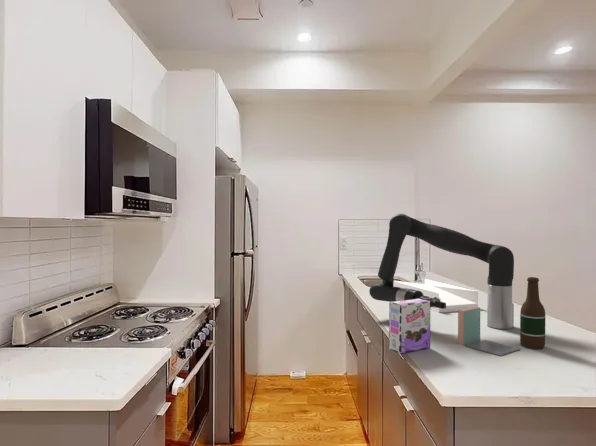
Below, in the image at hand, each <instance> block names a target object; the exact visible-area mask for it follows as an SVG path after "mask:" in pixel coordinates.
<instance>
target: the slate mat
mask: <svg viewBox="0 0 596 446" xmlns="http://www.w3.org/2000/svg"><path fill="white" fill-rule="evenodd" d="M464 347H466V348H470V349H473V350H475V351H476V350H477V351H480V352H484V353H488V354H490V355H494V356H498V357H502V356H506V355H508V354H512V353H515V352H518V351H521V348H519V347H516V346H511V345H509V344H504V343H499V342H496V341H492V340H489V339H480V341H476V342H472V343H469V344H465V345H464Z"/></svg>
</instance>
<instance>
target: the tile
mask: <svg viewBox="0 0 596 446" xmlns="http://www.w3.org/2000/svg"><path fill="white" fill-rule="evenodd" d="M478 341H481V307H479V306H478V307H470V308H465V309H460V310H458V311H457V343H458V344H459V345H462V346H465V345H467V344H470V343H474V342H478Z"/></svg>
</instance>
